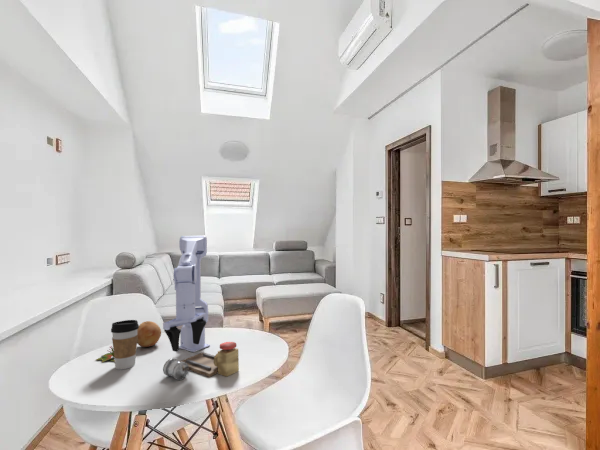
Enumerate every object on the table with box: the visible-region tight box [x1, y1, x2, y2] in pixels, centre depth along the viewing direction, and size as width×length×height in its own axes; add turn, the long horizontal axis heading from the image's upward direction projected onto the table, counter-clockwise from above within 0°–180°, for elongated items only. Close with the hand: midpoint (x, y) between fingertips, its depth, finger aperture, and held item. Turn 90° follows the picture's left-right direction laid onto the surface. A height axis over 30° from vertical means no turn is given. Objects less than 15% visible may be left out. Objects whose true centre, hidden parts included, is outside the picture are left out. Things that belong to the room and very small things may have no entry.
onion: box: [137, 320, 162, 348], centre depth 128 cm, size 10×10×10 cm
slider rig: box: [178, 341, 240, 378], centre depth 106 cm, size 22×11×9 cm, turn 55°
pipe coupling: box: [162, 358, 190, 381], centre depth 98 cm, size 6×5×5 cm
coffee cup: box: [110, 319, 140, 370], centre depth 108 cm, size 8×8×15 cm
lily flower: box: [95, 345, 115, 363], centre depth 117 cm, size 12×12×5 cm
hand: (186, 347), depth 100 cm, fingers open, 7 cm apart
